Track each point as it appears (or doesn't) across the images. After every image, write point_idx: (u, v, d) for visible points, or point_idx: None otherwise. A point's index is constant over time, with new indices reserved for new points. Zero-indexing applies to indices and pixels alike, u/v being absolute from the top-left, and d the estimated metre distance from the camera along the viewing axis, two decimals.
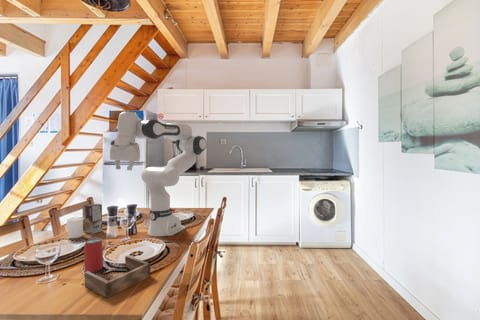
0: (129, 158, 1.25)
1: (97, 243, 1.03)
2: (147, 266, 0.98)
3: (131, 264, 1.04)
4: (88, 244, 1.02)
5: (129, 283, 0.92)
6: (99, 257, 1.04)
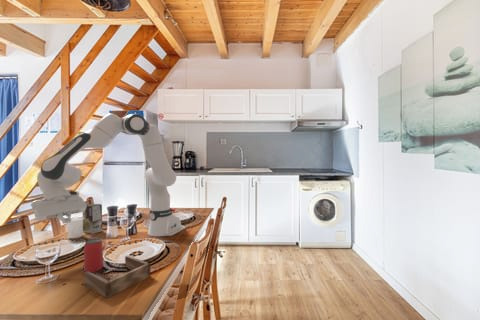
0: None
1: (97, 243, 1.03)
2: (147, 266, 0.98)
3: (131, 264, 1.04)
4: (88, 244, 1.02)
5: (129, 283, 0.92)
6: (99, 257, 1.04)
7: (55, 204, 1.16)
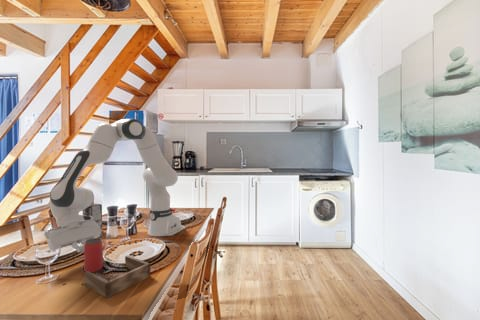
0: None
1: (97, 243, 1.03)
2: (147, 266, 0.98)
3: (131, 264, 1.04)
4: (88, 244, 1.02)
5: (129, 283, 0.92)
6: (99, 257, 1.04)
7: (69, 232, 1.10)
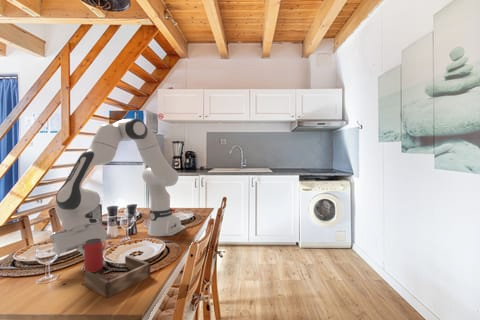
0: None
1: (97, 243, 1.03)
2: (147, 266, 0.98)
3: (131, 264, 1.04)
4: (88, 244, 1.02)
5: (129, 283, 0.92)
6: (99, 257, 1.04)
7: (75, 235, 1.07)
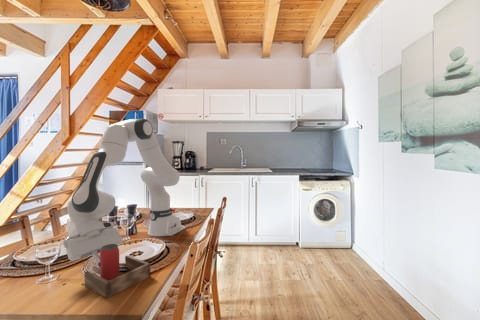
0: None
1: (115, 249, 0.97)
2: (147, 266, 0.98)
3: (131, 264, 1.04)
4: (105, 250, 0.96)
5: (129, 283, 0.92)
6: (117, 264, 0.98)
7: (89, 240, 1.01)
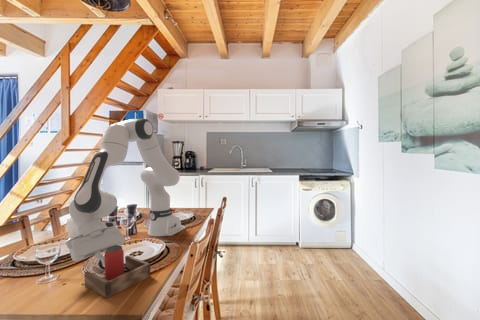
0: None
1: (119, 251, 0.96)
2: (147, 266, 0.98)
3: (131, 264, 1.04)
4: (110, 252, 0.94)
5: (129, 283, 0.92)
6: (121, 266, 0.96)
7: (92, 240, 1.01)
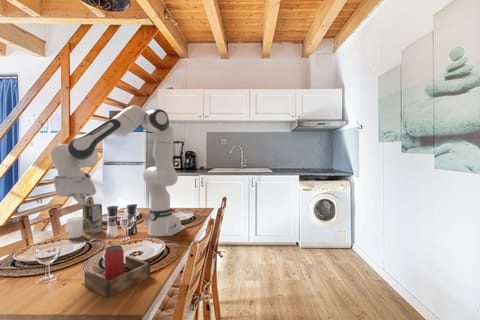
0: None
1: (119, 251, 0.96)
2: (147, 266, 0.98)
3: (131, 264, 1.04)
4: (110, 252, 0.94)
5: (129, 283, 0.92)
6: (121, 266, 0.96)
7: (74, 183, 1.13)
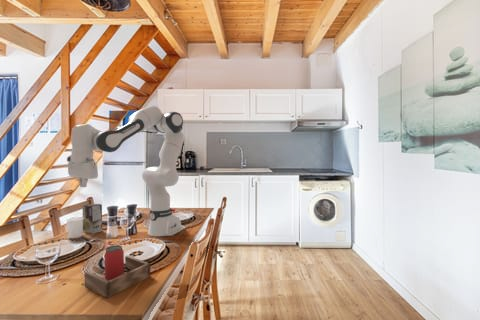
0: (86, 175, 1.18)
1: (119, 251, 0.96)
2: (147, 266, 0.98)
3: (131, 264, 1.04)
4: (110, 252, 0.94)
5: (129, 283, 0.92)
6: (121, 266, 0.96)
7: None
